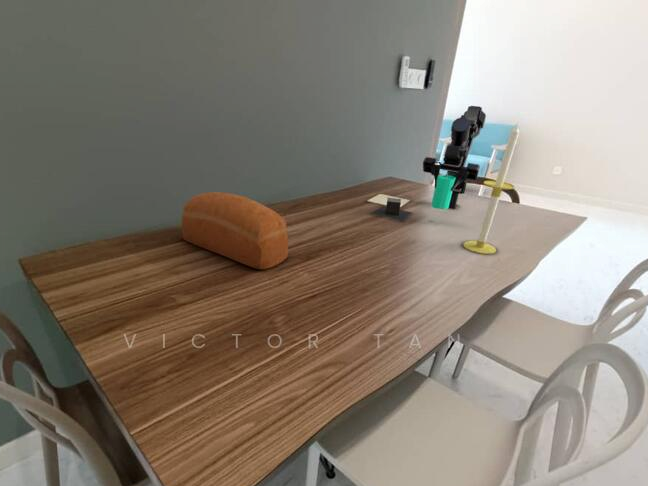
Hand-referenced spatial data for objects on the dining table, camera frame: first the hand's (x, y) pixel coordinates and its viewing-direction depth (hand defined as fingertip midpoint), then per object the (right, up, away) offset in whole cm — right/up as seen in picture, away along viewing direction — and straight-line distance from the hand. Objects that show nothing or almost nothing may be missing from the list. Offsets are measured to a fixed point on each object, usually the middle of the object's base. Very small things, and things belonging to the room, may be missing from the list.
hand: (443, 189), depth 136 cm
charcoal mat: (-15, -5, +15) cm, 22 cm away
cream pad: (-13, +3, +29) cm, 32 cm away
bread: (-69, -24, -21) cm, 76 cm away
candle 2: (+8, -22, -10) cm, 25 cm away
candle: (0, -5, +5) cm, 7 cm away
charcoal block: (-15, -5, +15) cm, 21 cm away
